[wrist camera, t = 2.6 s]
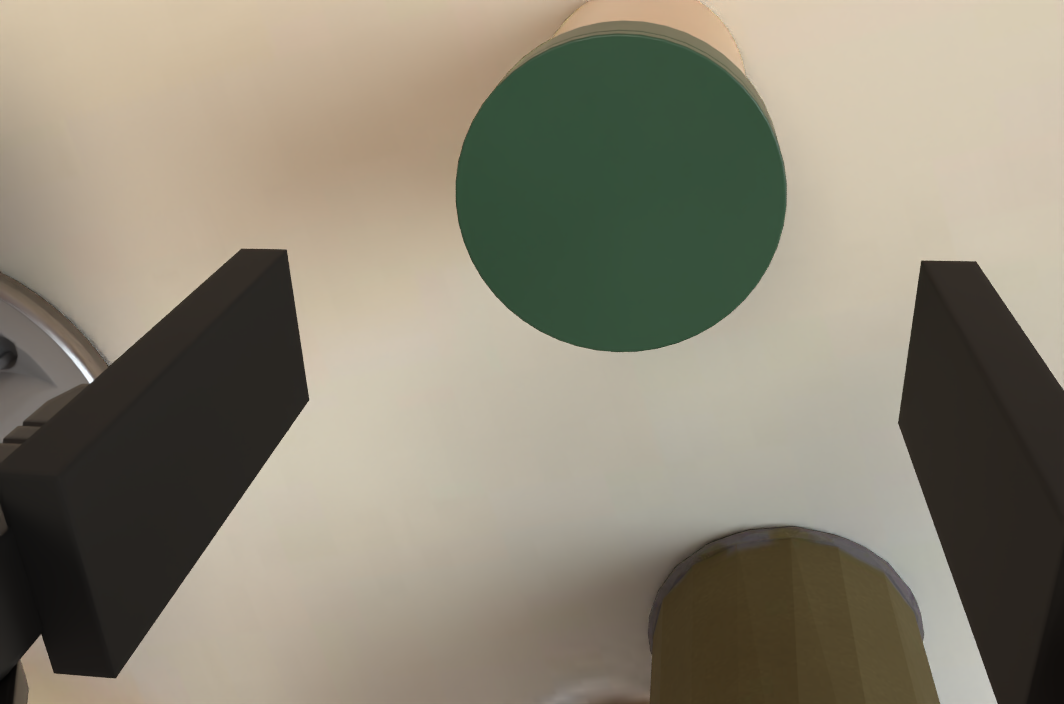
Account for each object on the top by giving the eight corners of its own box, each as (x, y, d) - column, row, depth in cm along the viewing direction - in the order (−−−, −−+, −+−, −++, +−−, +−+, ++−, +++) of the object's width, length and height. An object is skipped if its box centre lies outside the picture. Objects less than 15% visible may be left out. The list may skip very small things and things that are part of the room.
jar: (541, 192, 33) (482, 326, 24) (534, -14, 31) (465, 48, 21) (739, 194, 32) (758, 334, 23) (752, -18, 30) (779, 44, 20)
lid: (476, 316, 25) (462, 348, 24) (457, 22, 22) (439, 35, 21) (769, 324, 24) (774, 357, 23) (792, 17, 21) (800, 31, 20)
